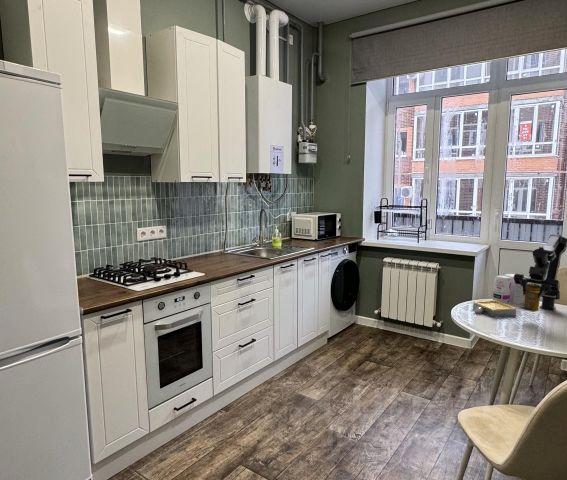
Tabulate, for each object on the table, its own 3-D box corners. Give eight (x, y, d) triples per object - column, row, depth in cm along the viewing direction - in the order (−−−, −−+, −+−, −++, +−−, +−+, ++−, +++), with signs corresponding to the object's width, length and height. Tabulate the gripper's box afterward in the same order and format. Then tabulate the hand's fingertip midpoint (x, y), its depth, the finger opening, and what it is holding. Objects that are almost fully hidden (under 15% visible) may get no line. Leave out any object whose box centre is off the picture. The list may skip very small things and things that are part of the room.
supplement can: (508, 302, 227) (510, 276, 225) (509, 305, 219) (512, 279, 217) (492, 299, 230) (494, 274, 228) (492, 303, 223) (495, 277, 221)
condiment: (542, 309, 191) (545, 285, 190) (533, 312, 187) (536, 287, 185) (526, 305, 197) (528, 282, 196) (517, 308, 193) (519, 284, 191)
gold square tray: (494, 307, 216) (495, 300, 215) (515, 315, 202) (516, 308, 202) (466, 309, 211) (467, 301, 210) (486, 317, 198) (486, 310, 197)
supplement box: (501, 299, 232) (503, 274, 230) (513, 298, 235) (516, 273, 232) (513, 303, 224) (516, 277, 222) (526, 303, 226) (529, 277, 224)
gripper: (516, 257, 198) (506, 282, 192) (561, 263, 184) (552, 290, 178) (520, 270, 204) (510, 295, 198) (563, 277, 191) (554, 304, 185)
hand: (531, 296), depth 190 cm, fingers closed on condiment, 6 cm apart
